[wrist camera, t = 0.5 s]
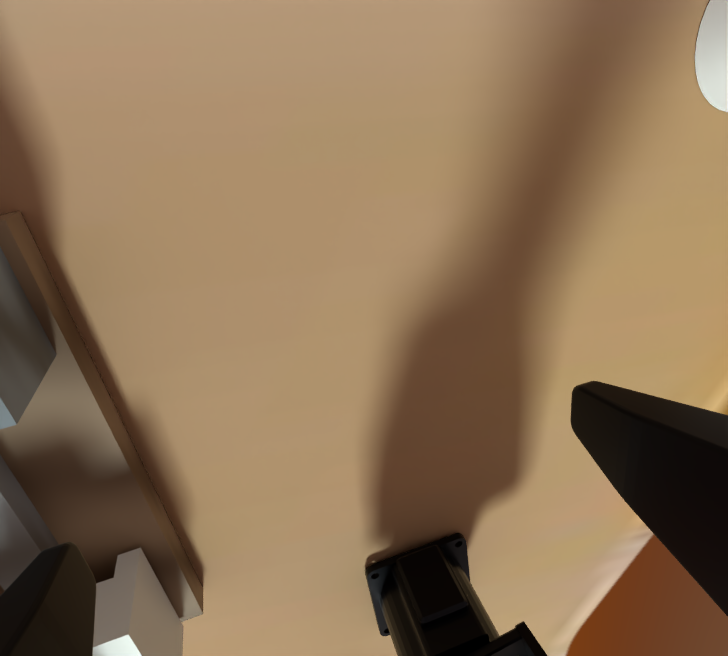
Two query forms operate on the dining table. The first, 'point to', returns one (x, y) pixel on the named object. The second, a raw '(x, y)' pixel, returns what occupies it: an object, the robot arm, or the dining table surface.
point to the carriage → (135, 612)
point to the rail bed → (69, 442)
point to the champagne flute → (713, 54)
